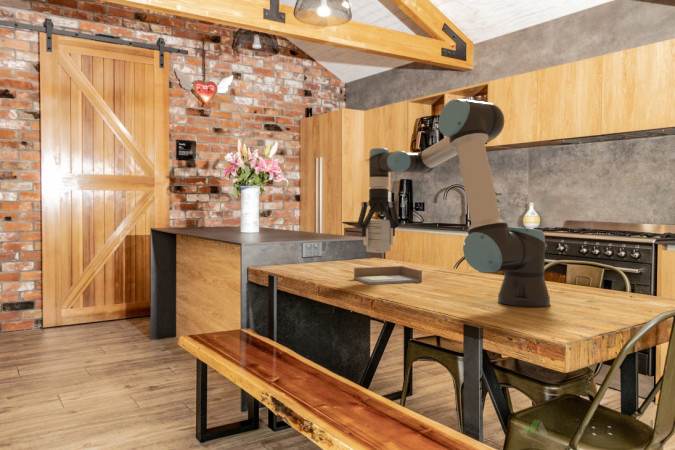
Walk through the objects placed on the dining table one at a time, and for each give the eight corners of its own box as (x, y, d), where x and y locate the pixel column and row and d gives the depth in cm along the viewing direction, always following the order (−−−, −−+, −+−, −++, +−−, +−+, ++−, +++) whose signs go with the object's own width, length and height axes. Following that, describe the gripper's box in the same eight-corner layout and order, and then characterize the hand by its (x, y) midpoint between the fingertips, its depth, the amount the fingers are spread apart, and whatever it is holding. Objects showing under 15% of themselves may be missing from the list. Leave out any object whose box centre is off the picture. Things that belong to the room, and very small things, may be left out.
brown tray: (421, 281, 208) (421, 270, 208) (370, 284, 200) (370, 272, 200) (402, 276, 223) (402, 265, 222) (354, 279, 215) (354, 267, 215)
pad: (395, 279, 207) (395, 279, 207) (371, 280, 203) (371, 280, 203) (384, 276, 216) (384, 275, 216) (361, 277, 213) (361, 276, 213)
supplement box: (374, 250, 215) (374, 219, 214) (390, 251, 211) (391, 219, 210) (365, 251, 208) (365, 219, 208) (382, 253, 204) (382, 220, 204)
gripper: (400, 188, 216) (399, 243, 217) (348, 188, 208) (348, 244, 209) (408, 188, 209) (408, 244, 210) (355, 187, 201) (355, 246, 202)
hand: (378, 244), depth 209 cm, fingers closed on supplement box, 10 cm apart
